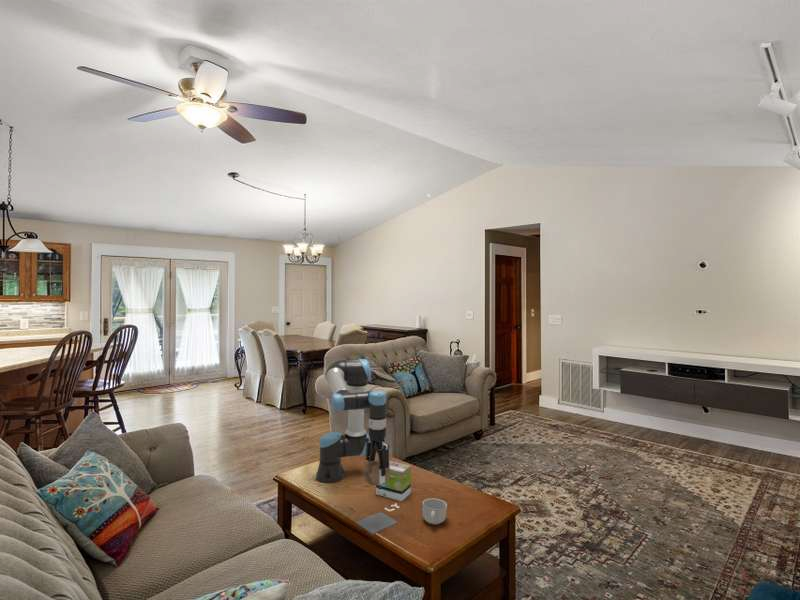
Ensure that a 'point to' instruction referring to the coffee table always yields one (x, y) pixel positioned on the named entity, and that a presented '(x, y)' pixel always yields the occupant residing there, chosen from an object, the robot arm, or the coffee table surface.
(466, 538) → the coffee table surface
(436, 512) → the teacup
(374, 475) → the walnut block
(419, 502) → the coffee table surface
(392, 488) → the tea box
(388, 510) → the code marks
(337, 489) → the coffee table surface
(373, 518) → the coaster
